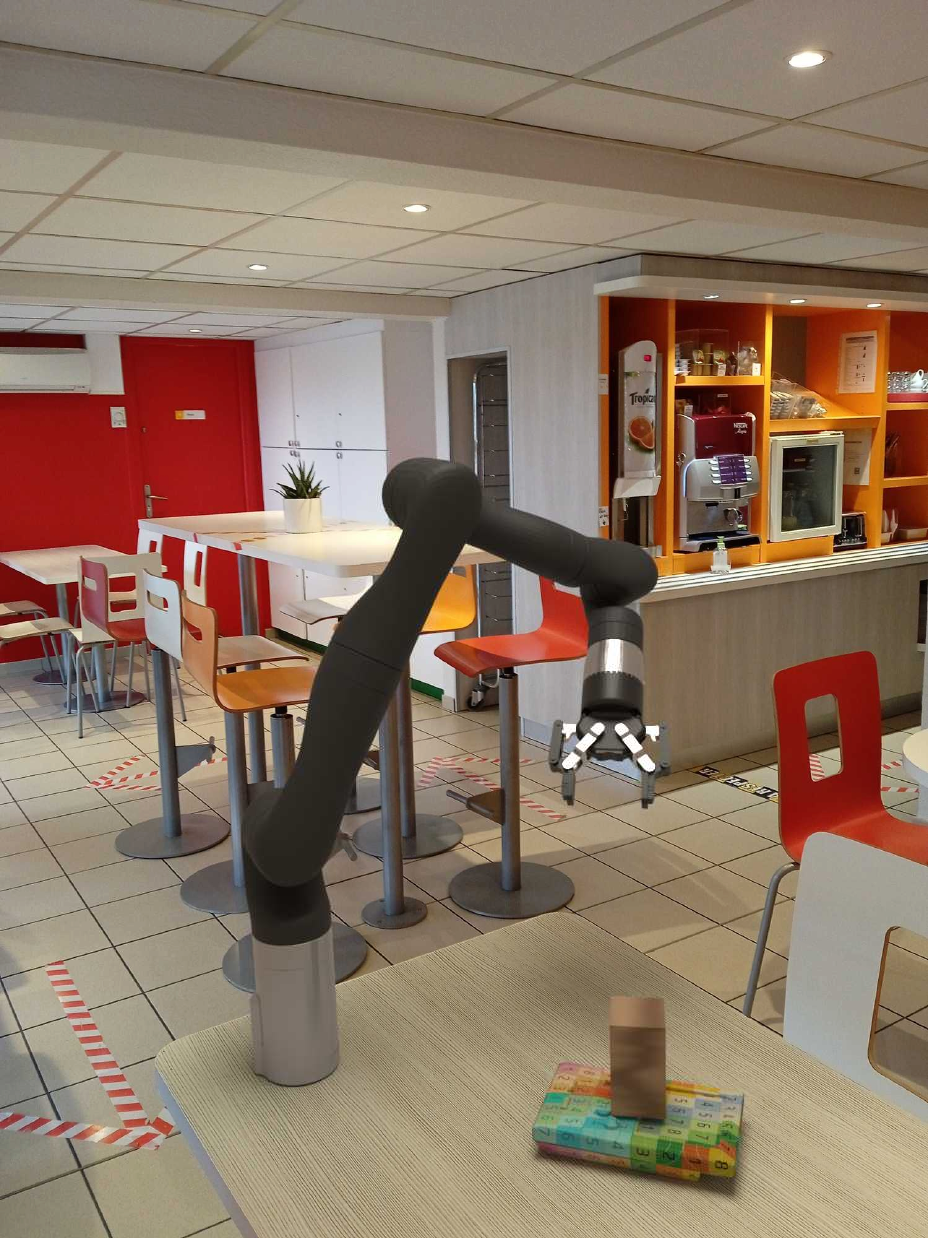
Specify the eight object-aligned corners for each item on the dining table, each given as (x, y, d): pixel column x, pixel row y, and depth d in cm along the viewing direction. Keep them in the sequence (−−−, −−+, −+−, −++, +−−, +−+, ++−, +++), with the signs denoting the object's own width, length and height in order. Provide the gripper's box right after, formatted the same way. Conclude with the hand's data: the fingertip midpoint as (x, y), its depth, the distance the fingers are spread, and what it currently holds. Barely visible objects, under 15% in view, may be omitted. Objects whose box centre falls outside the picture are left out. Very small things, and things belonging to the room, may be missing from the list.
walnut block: (610, 1115, 105) (609, 1025, 103) (611, 1082, 110) (610, 996, 108) (666, 1119, 104) (665, 1028, 102) (664, 1085, 109) (663, 998, 107)
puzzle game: (559, 1055, 115) (744, 1085, 109) (560, 1094, 116) (743, 1126, 109) (531, 1120, 104) (735, 1157, 98) (533, 1162, 105) (735, 1202, 99)
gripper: (552, 667, 126) (542, 787, 117) (671, 669, 123) (669, 792, 114) (558, 699, 132) (549, 816, 123) (672, 701, 129) (670, 821, 120)
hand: (607, 804), depth 118 cm, fingers open, 8 cm apart
